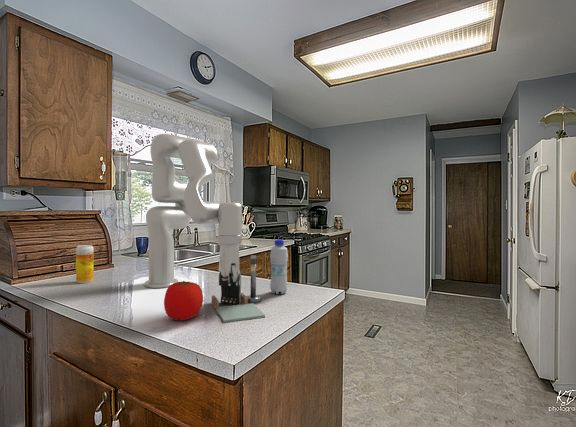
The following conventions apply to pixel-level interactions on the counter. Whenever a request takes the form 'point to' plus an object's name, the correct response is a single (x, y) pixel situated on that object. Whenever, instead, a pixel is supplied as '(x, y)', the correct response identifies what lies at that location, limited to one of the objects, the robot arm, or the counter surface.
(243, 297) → the holder
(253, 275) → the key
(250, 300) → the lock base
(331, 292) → the counter surface
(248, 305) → the mat
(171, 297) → the tomato
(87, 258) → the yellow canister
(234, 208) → the robot arm
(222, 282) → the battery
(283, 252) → the bottle
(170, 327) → the counter surface
